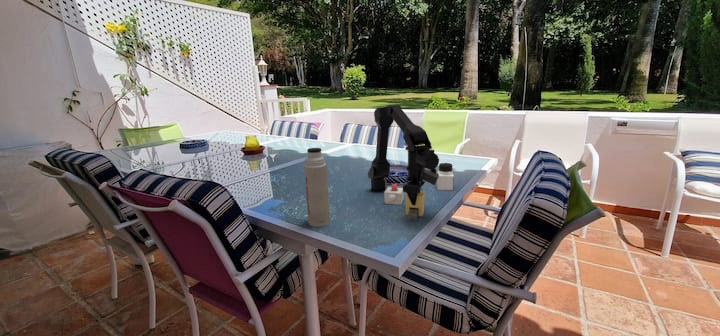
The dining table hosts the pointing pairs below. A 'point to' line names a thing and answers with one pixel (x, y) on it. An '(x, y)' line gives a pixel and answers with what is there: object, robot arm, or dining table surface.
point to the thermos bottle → (316, 188)
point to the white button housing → (394, 196)
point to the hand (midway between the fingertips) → (415, 202)
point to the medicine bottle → (445, 177)
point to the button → (394, 186)
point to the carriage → (418, 203)
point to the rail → (413, 214)
